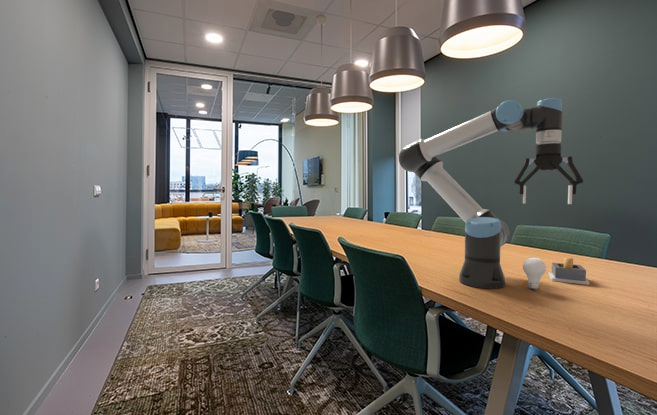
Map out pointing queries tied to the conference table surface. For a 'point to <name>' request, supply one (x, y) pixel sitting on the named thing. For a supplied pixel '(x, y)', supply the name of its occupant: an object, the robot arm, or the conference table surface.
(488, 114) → the robot arm
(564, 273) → the grey square frame
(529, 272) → the light bulb
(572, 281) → the keeper
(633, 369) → the conference table surface
